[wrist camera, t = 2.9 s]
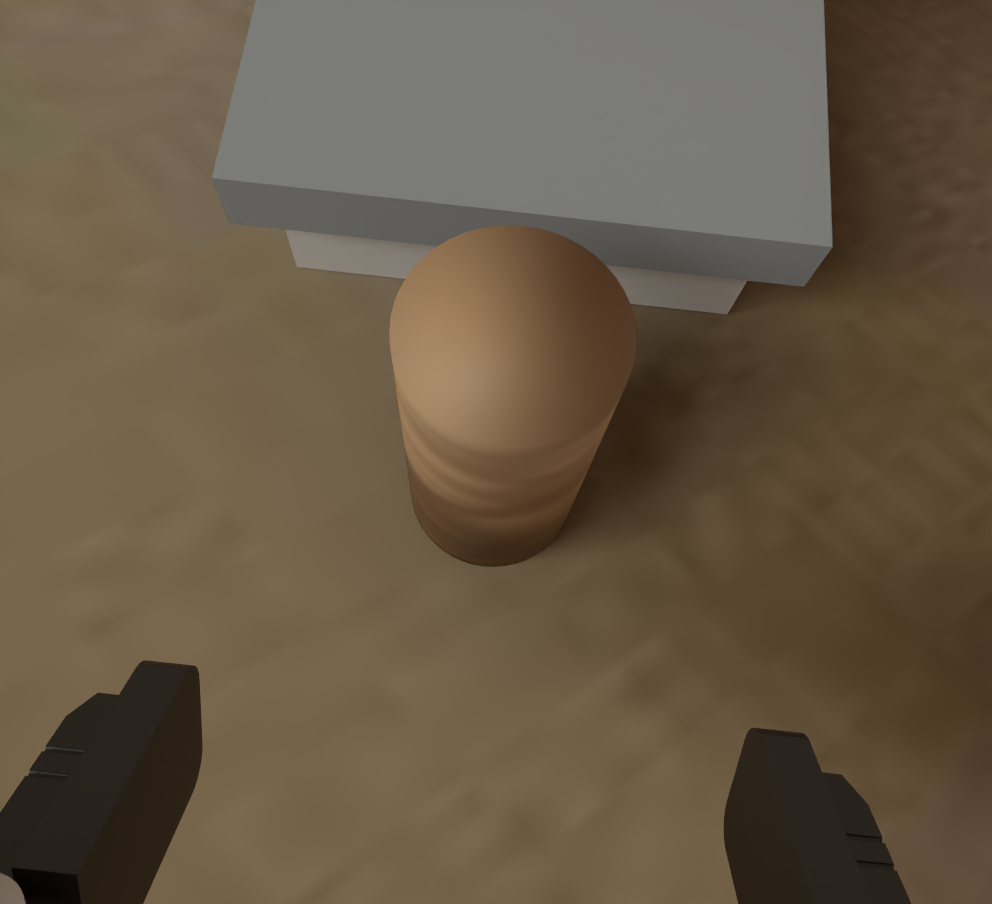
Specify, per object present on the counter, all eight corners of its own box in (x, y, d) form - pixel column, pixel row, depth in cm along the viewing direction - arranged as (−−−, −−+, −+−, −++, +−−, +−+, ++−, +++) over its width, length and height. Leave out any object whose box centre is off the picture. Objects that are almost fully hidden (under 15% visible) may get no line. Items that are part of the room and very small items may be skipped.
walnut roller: (401, 557, 26) (372, 433, 17) (421, 404, 28) (406, 213, 18) (566, 575, 26) (631, 460, 17) (577, 422, 28) (642, 238, 18)
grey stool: (259, 295, 29) (211, 177, 23) (325, -14, 33) (299, -177, 27) (757, 350, 29) (832, 247, 23) (757, 35, 33) (819, -116, 28)
